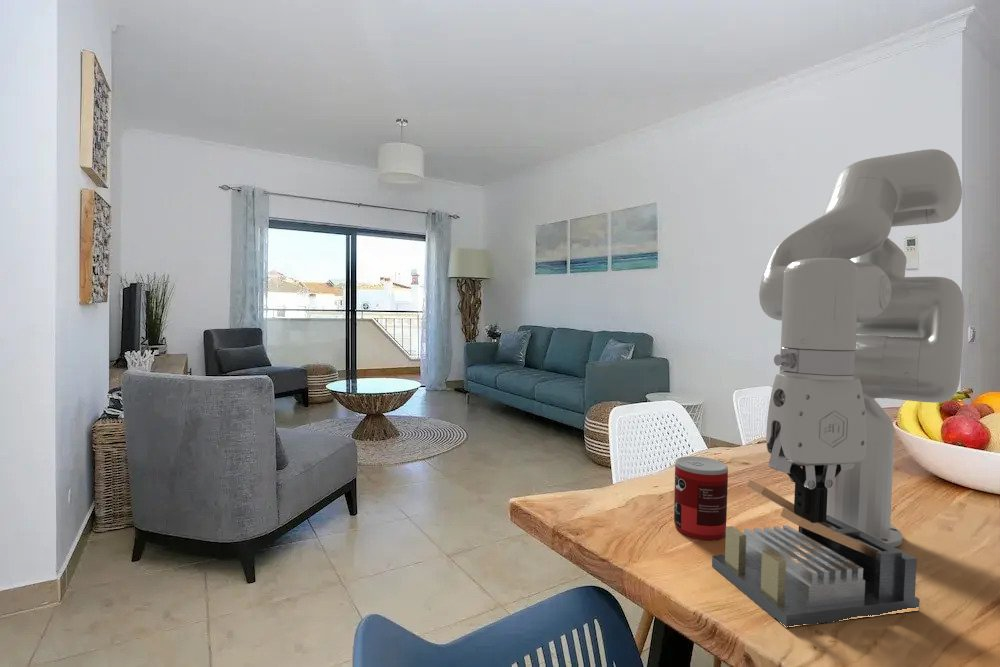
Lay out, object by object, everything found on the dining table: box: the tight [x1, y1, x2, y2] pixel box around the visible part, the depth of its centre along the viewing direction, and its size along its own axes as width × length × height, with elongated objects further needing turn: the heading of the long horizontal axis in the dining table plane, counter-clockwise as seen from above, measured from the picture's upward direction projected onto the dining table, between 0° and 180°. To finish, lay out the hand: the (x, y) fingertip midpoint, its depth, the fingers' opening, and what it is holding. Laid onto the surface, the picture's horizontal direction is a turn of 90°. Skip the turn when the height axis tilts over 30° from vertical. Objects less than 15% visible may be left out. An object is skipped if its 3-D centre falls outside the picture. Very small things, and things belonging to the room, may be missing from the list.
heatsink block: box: [711, 515, 921, 627], centre depth 66 cm, size 14×18×7 cm
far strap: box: [746, 479, 837, 529], centre depth 69 cm, size 4×13×1 cm, turn 101°
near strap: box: [780, 508, 882, 559], centre depth 62 cm, size 4×13×1 cm, turn 101°
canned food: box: [673, 455, 729, 541], centre depth 83 cm, size 8×8×11 cm
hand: (809, 517), depth 61 cm, fingers closed
